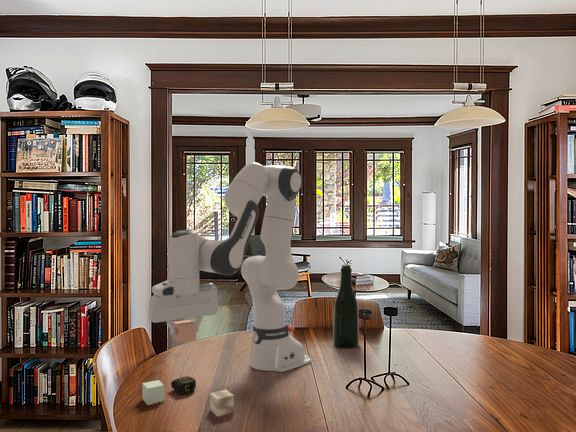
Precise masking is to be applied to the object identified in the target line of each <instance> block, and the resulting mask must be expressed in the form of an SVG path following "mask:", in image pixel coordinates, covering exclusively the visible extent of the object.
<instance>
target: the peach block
mask: <svg viewBox="0 0 576 432" xmlns="http://www.w3.org/2000/svg"><path fill="white" fill-rule="evenodd" d="M172 326H173V327H174V328H176V329H177V335H173V340H174V341H176V342H177V343H178V344H183V343H184V344H185V343H190V342H195V341H197V332H196V323H195V322H194V321H193V320H191V319H185V320H184V319H183V320H180V321H179V320H176V321H174V324H172Z"/></svg>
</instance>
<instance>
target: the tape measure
mask: <svg viewBox="0 0 576 432" xmlns="http://www.w3.org/2000/svg"><path fill="white" fill-rule="evenodd" d="M170 386H171V389H173V390H174V391H175V392H177V393H178V394H180V395H184V394H186V393H187V394H188V393H191V392H193V391H194V390H196V387H197V382H196V379H195V378H194V377H192V376H189V375H187V376H180V377H178V378H176V379H174V380H172V381H170Z"/></svg>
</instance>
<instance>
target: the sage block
mask: <svg viewBox="0 0 576 432" xmlns="http://www.w3.org/2000/svg"><path fill="white" fill-rule="evenodd" d="M141 386H142V387H141V388H142V389H141V390H142V394H141V395H142V400H143V402H144V403H145V404H146V405H147V406H150V405H151V406H152V405H154V403H155V404H159V403H158V402H160V403H163V402H162V401H164V402H165V384H164V383H162V382H161V381H160V380H159V379H157V380H152V381H147V382H142V383H141Z"/></svg>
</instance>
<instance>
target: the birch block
mask: <svg viewBox="0 0 576 432" xmlns="http://www.w3.org/2000/svg"><path fill="white" fill-rule="evenodd" d="M234 396H235V395H234V394H232V393H231V392H230V391H229V390H227V389H221V390H217V391H213V392H210V393H209V410H210V411H211V413H213V414H214V415H215V416H216V417H222V416H226V415H229V414H233V413H235V412H234V411H235V408H234V407H235V406H234V405H235V403H234V402H235V400H234V399H235V397H234Z"/></svg>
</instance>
